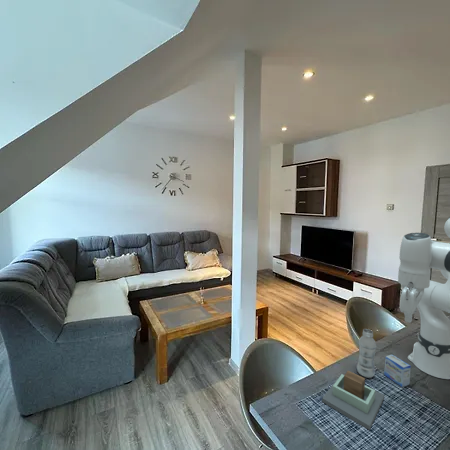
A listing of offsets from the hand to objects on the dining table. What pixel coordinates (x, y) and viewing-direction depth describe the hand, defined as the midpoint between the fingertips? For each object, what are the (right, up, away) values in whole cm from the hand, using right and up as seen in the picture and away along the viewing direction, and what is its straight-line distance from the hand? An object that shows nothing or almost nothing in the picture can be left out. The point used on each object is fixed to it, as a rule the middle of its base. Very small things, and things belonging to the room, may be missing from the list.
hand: (410, 316), depth 88 cm
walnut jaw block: (-18, -32, +5) cm, 37 cm away
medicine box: (+6, -33, +16) cm, 37 cm away
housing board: (-18, -34, +5) cm, 39 cm away
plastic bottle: (-6, -32, +19) cm, 38 cm away
